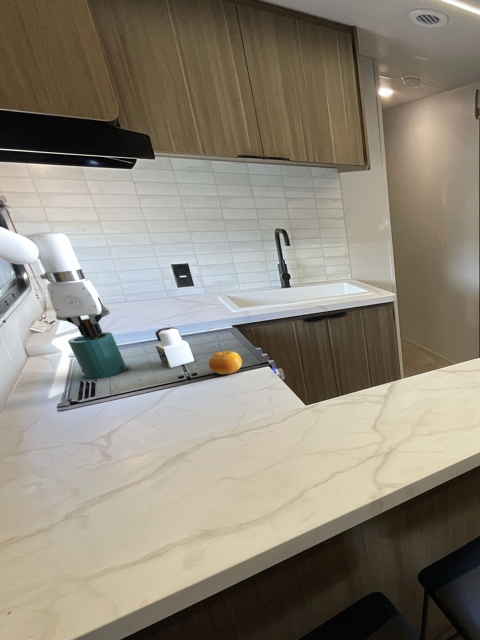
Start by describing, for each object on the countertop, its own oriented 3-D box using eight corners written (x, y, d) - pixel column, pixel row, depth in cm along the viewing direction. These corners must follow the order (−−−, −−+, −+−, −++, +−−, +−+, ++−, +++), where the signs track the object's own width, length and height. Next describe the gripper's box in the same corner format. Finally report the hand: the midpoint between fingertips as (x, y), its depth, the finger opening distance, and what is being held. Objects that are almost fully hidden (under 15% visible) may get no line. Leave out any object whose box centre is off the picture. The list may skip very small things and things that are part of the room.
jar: (76, 378, 126) (58, 342, 121) (106, 366, 135) (90, 332, 130) (106, 378, 126) (90, 342, 121) (134, 366, 135) (120, 332, 130)
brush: (91, 363, 127) (71, 321, 121) (104, 358, 131) (85, 317, 125) (104, 363, 127) (85, 321, 121) (117, 358, 131) (99, 317, 125)
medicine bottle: (162, 363, 136) (148, 330, 131) (186, 357, 142) (174, 324, 137) (170, 368, 132) (156, 333, 128) (194, 361, 138) (182, 328, 133)
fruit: (251, 358, 130) (229, 340, 126) (232, 376, 124) (209, 359, 120) (240, 365, 135) (218, 348, 131) (222, 383, 129) (199, 366, 125)
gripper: (22, 281, 111) (54, 344, 119) (97, 276, 118) (122, 335, 126) (35, 277, 118) (64, 337, 125) (105, 272, 124) (129, 329, 132)
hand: (93, 336), depth 125 cm, fingers closed on brush
